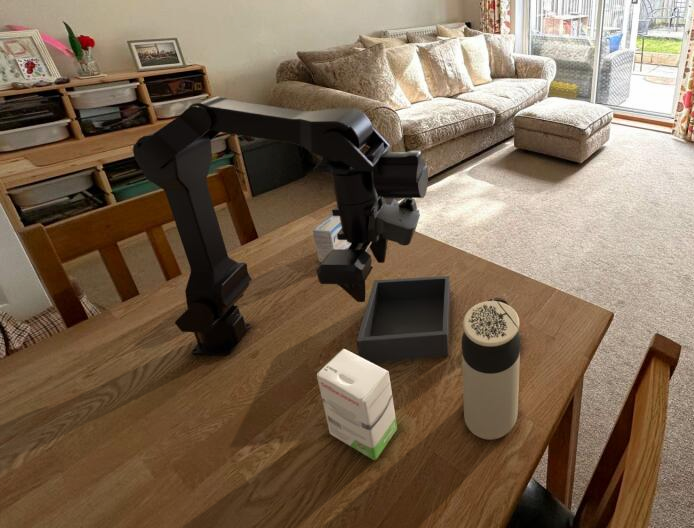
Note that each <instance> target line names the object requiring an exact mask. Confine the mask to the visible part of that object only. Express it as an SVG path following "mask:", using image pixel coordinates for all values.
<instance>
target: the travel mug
mask: <svg viewBox="0 0 694 528" xmlns="http://www.w3.org/2000/svg"><path fill="white" fill-rule="evenodd" d="M462 328H463V331H464V332H463V334H462V336H461V360H462V361H461V363H462V388H463V389H462V391H463V392H462V395H463V396H462V397H463V418H464V422H465V425H466V427H467V428H468V430H469V431H470V433H471V434H473V435H474V436H475V437H478V438H480V439H484V440H497V439H500V438H502V437H504V436H506V435H507V434H508V433H510V431H512V429H513V428H514V427H515V425H516V423H517V420H518V416H519V415H518V413H519V392H520V391H519V389H520V387H519V386H520V364H521V363H520V362H521V344H520V342H521V340H522V339H521V338H520V334H521V333H519V332H520V331H519V329H520V318H519V315H518V313H517V311H516V310H515V309H514V308H513V307H512V306H511V305H507V304H505V303H502V302H497V301H488V300H487V301H486V300H485V301H482V302H479V303H477V304H474V305H473V306H472V307H471V308H469V309H468V310H467V312H466V313H465V315H464V317H463V320H462Z"/></svg>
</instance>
